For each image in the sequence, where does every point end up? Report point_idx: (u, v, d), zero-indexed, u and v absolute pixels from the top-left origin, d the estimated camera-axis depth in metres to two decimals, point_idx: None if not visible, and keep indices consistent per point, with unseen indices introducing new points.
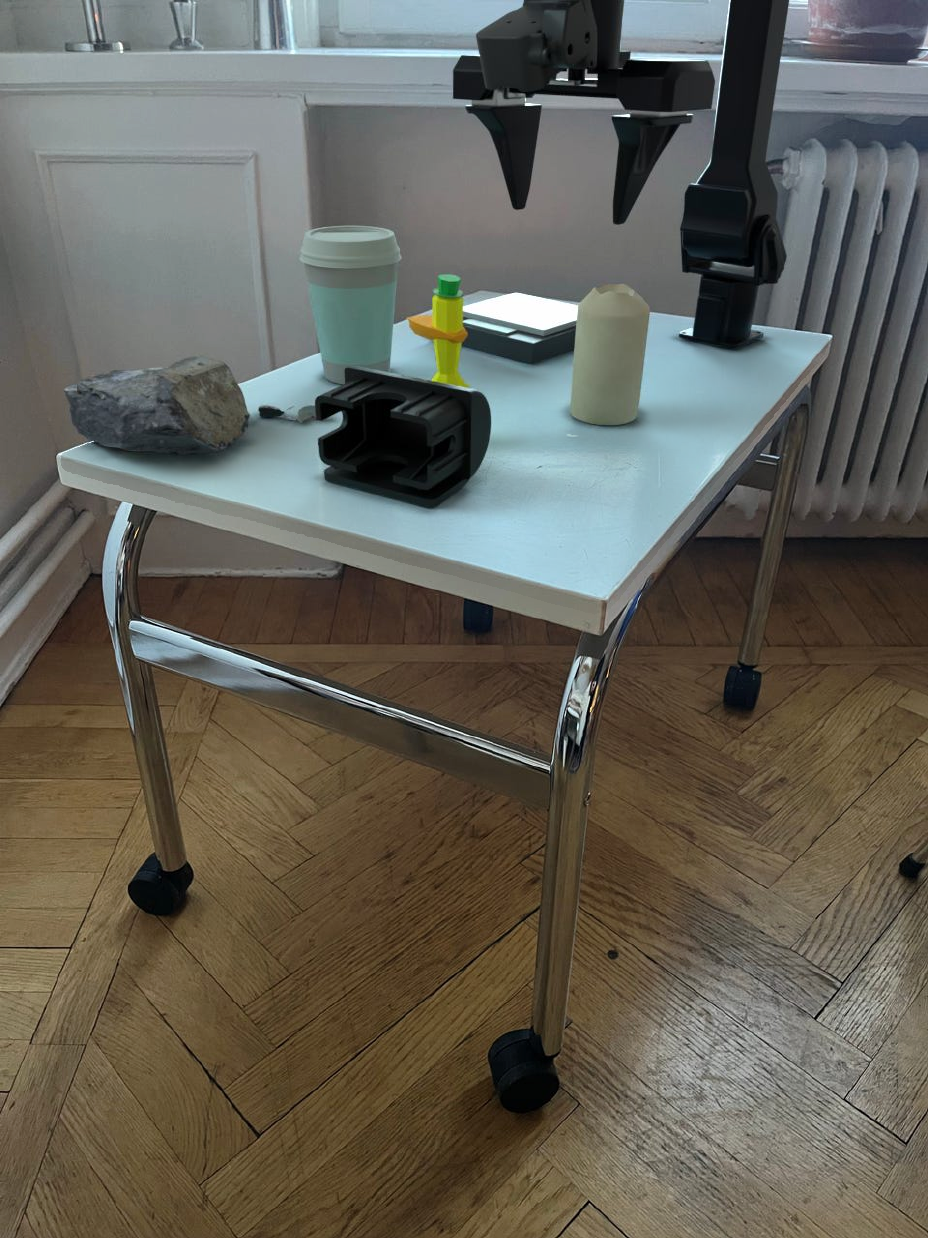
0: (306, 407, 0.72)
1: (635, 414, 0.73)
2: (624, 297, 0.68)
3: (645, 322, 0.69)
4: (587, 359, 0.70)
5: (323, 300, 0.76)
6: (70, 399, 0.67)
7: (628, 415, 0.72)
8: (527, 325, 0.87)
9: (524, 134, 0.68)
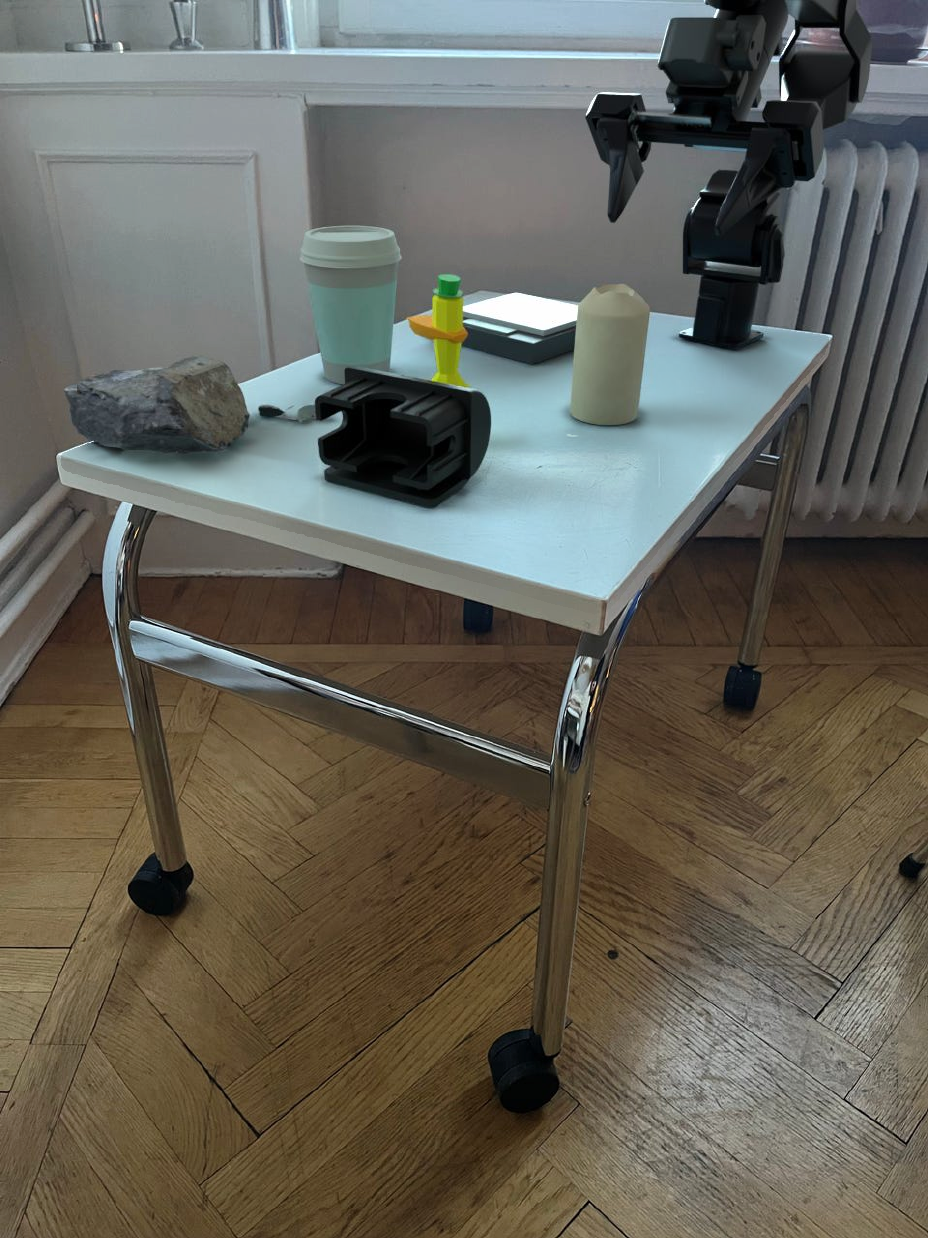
0: (306, 406, 0.72)
1: (635, 414, 0.73)
2: (624, 297, 0.68)
3: (645, 322, 0.69)
4: (587, 359, 0.70)
5: (323, 300, 0.76)
6: (70, 399, 0.67)
7: (628, 415, 0.72)
8: (527, 325, 0.87)
9: (632, 171, 0.76)
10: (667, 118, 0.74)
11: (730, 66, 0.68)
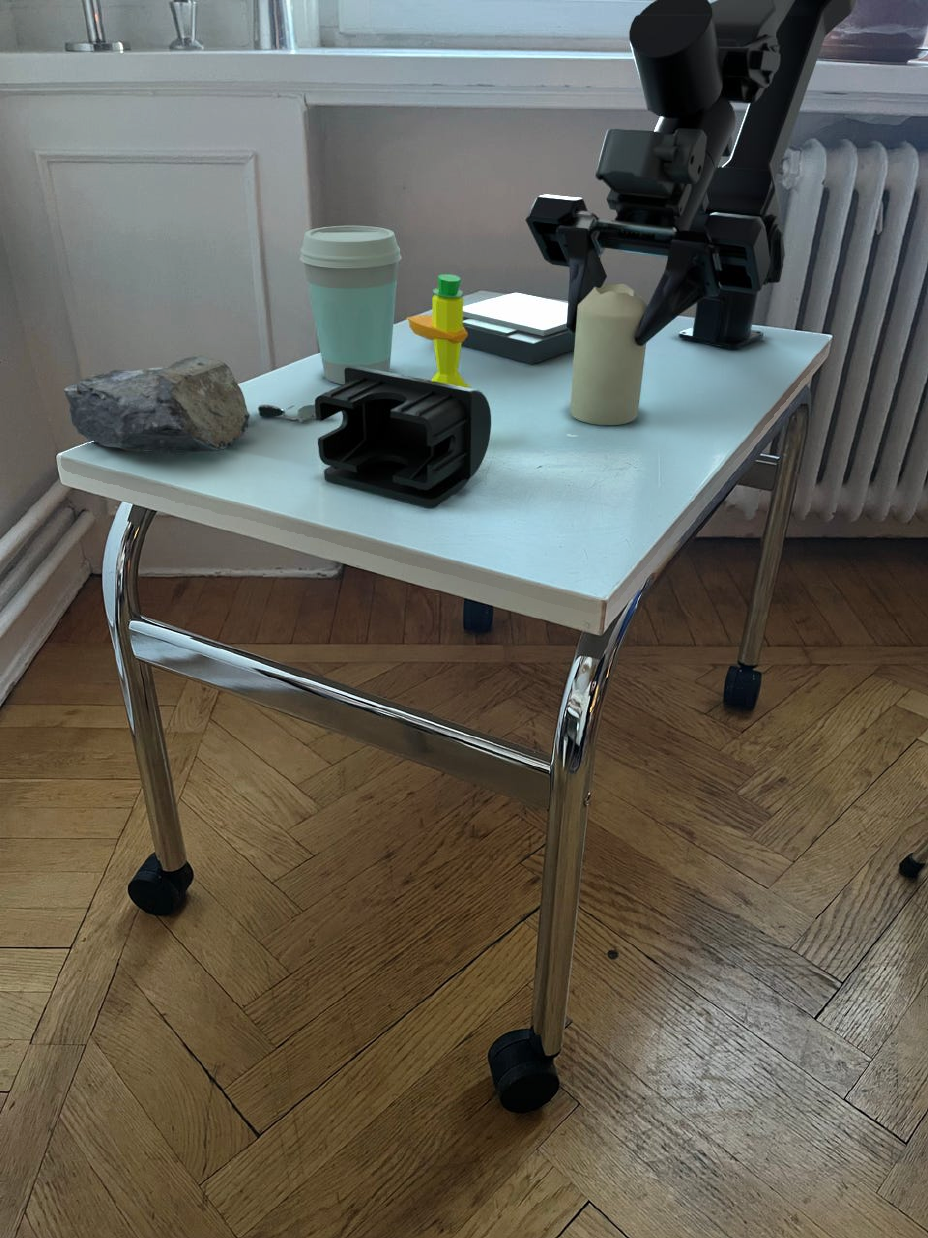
0: (306, 406, 0.73)
1: (635, 414, 0.73)
2: (624, 297, 0.68)
3: None
4: (587, 359, 0.70)
5: (323, 300, 0.76)
6: (70, 399, 0.67)
7: (628, 415, 0.72)
8: (527, 325, 0.87)
9: (593, 279, 0.73)
10: (629, 227, 0.70)
11: (670, 179, 0.65)
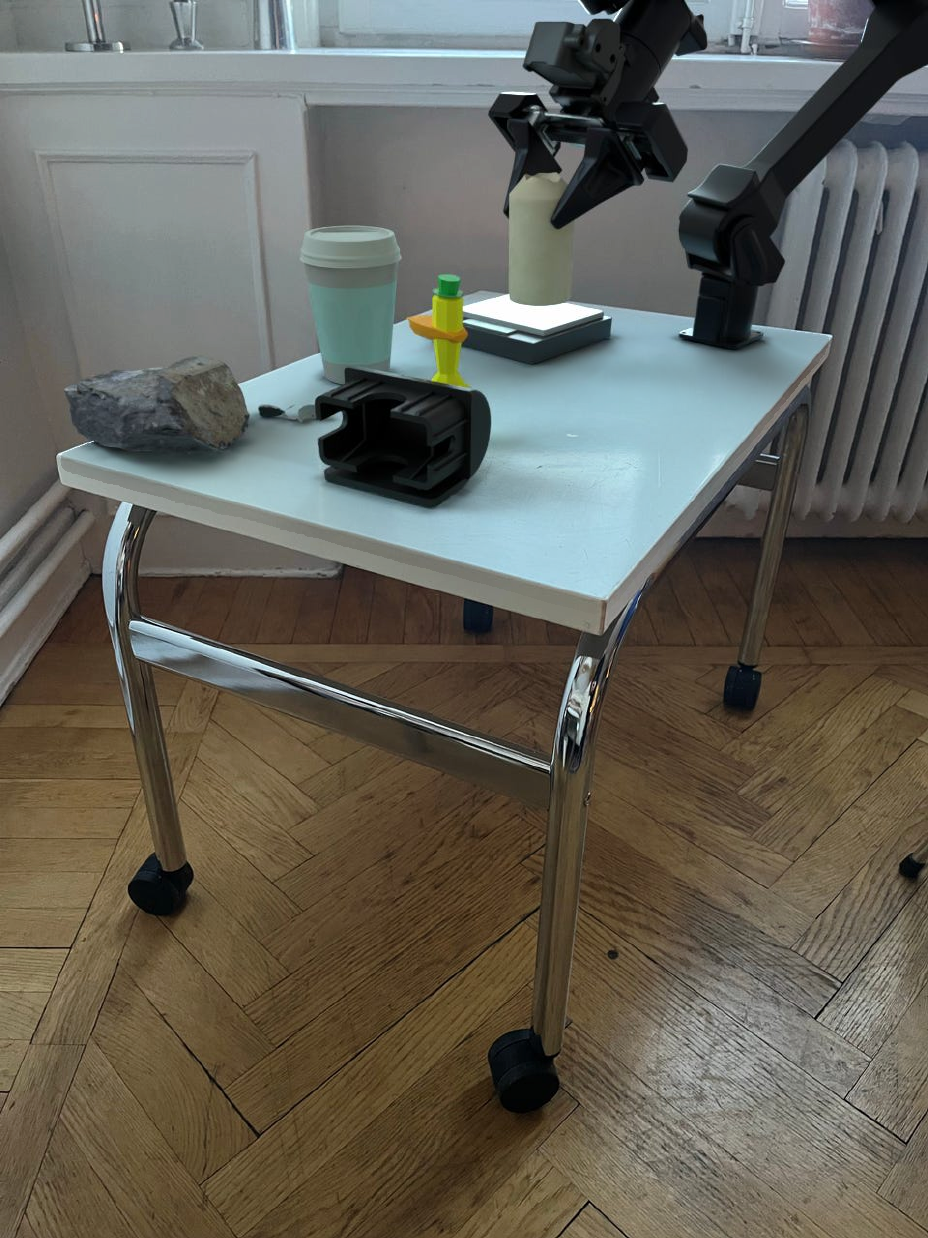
0: (306, 406, 0.73)
1: (562, 298, 0.79)
2: (544, 182, 0.74)
3: None
4: (513, 241, 0.77)
5: (323, 300, 0.76)
6: (70, 399, 0.67)
7: (553, 298, 0.78)
8: (527, 325, 0.87)
9: (539, 170, 0.79)
10: (568, 119, 0.76)
11: (587, 68, 0.70)
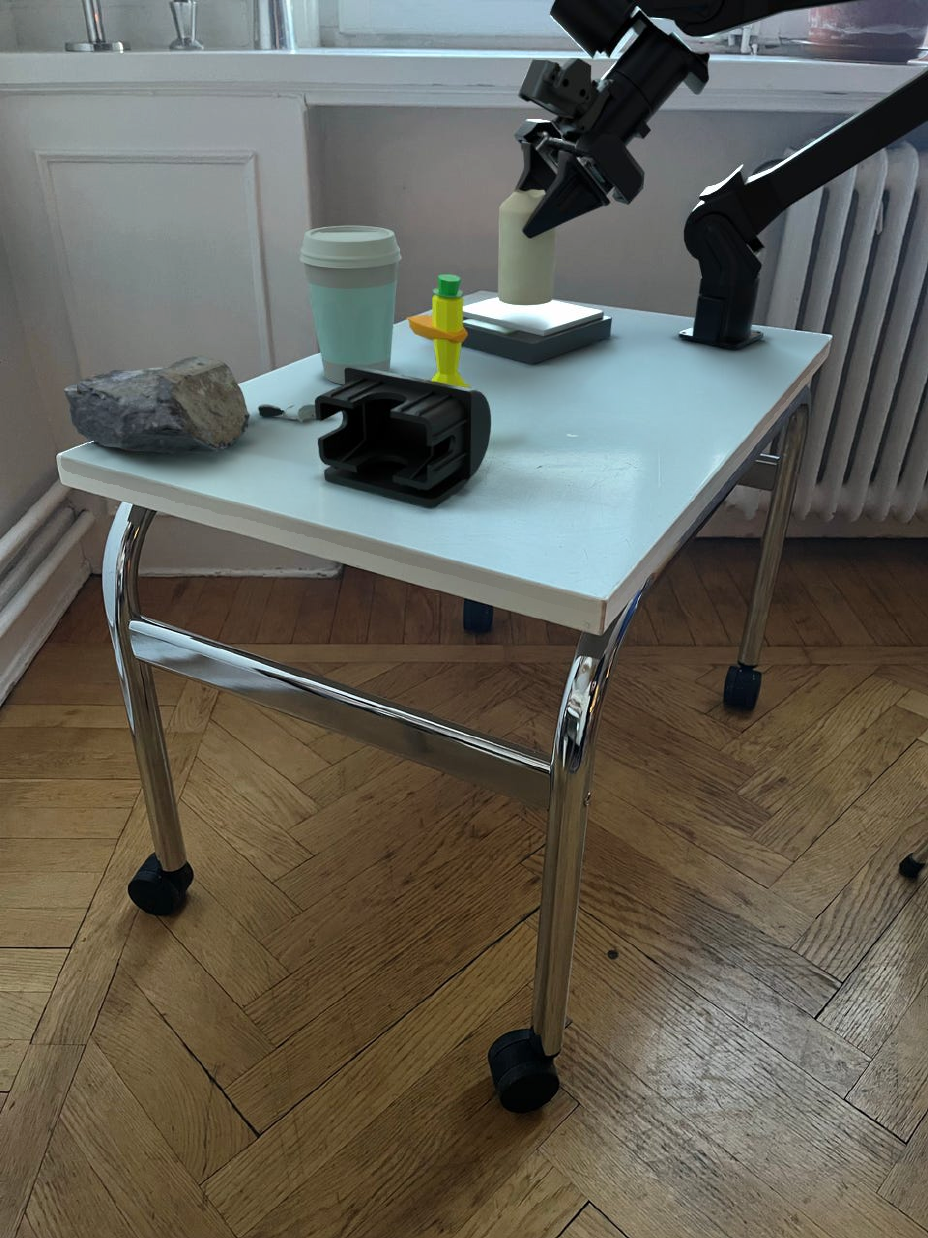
0: (306, 406, 0.73)
1: (537, 300, 0.89)
2: (523, 197, 0.85)
3: None
4: None
5: (323, 300, 0.76)
6: (70, 399, 0.67)
7: (526, 299, 0.89)
8: (527, 325, 0.87)
9: (542, 187, 0.89)
10: (562, 144, 0.86)
11: (563, 100, 0.80)
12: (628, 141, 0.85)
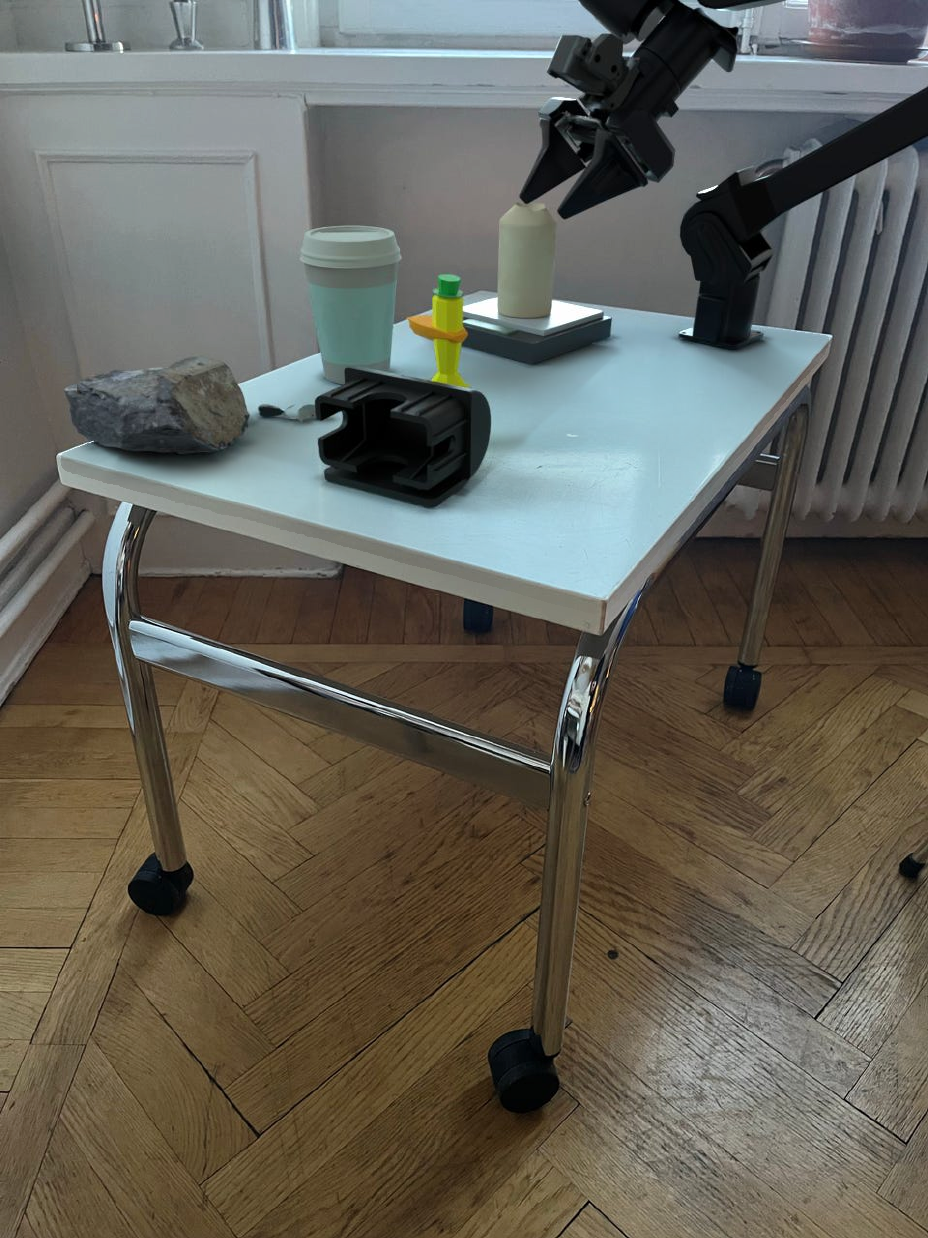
0: (306, 406, 0.73)
1: (535, 313, 0.89)
2: (523, 210, 0.85)
3: (538, 233, 0.85)
4: (498, 259, 0.89)
5: (323, 300, 0.76)
6: (70, 399, 0.67)
7: (525, 311, 0.89)
8: (527, 325, 0.87)
9: (560, 164, 0.90)
10: (582, 120, 0.87)
11: (594, 76, 0.80)
12: (656, 119, 0.84)
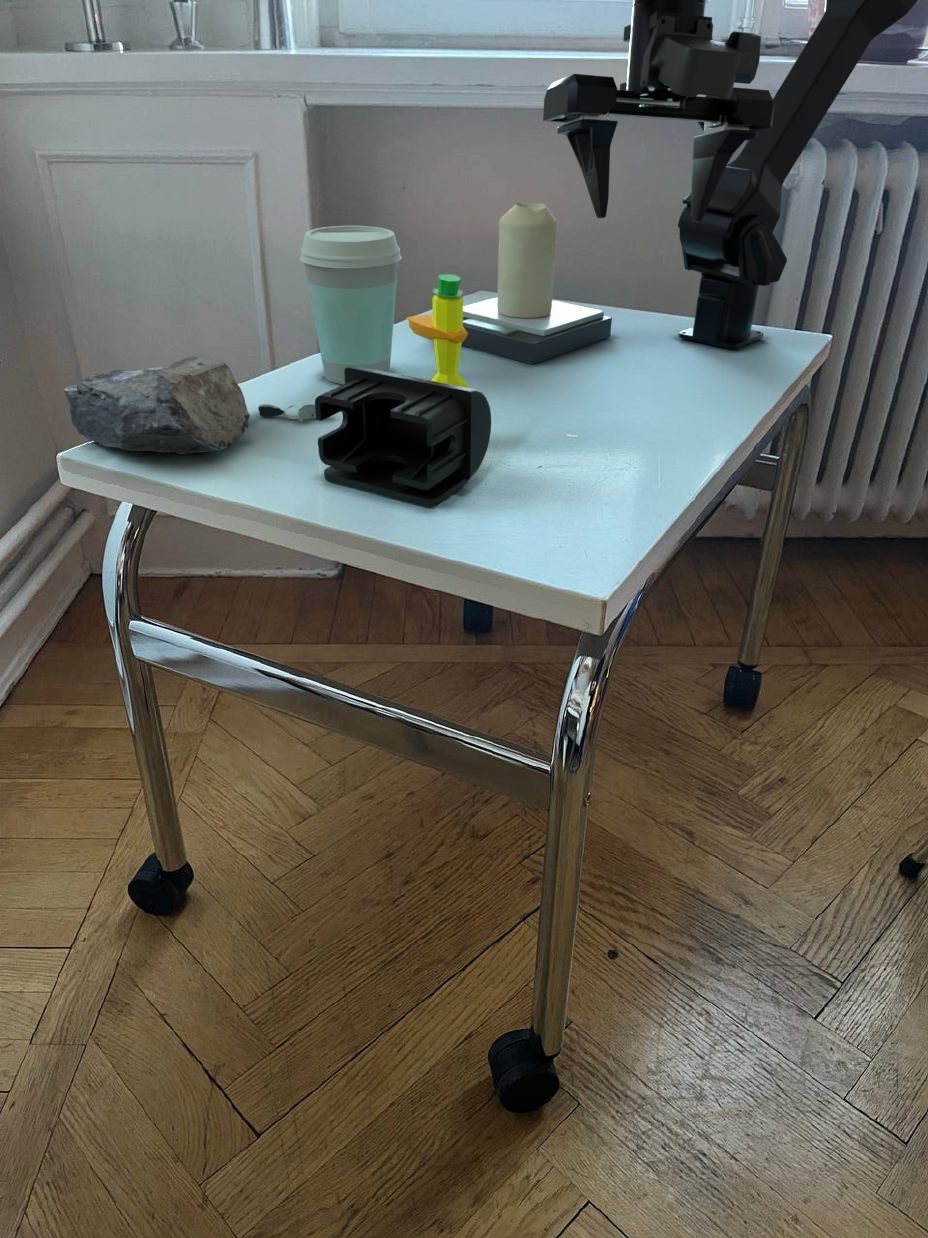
0: (306, 406, 0.73)
1: (535, 313, 0.89)
2: (523, 210, 0.85)
3: (538, 233, 0.85)
4: (498, 259, 0.89)
5: (323, 300, 0.76)
6: (70, 399, 0.67)
7: (525, 311, 0.89)
8: (527, 325, 0.87)
9: None
10: (638, 103, 0.74)
11: None
12: None
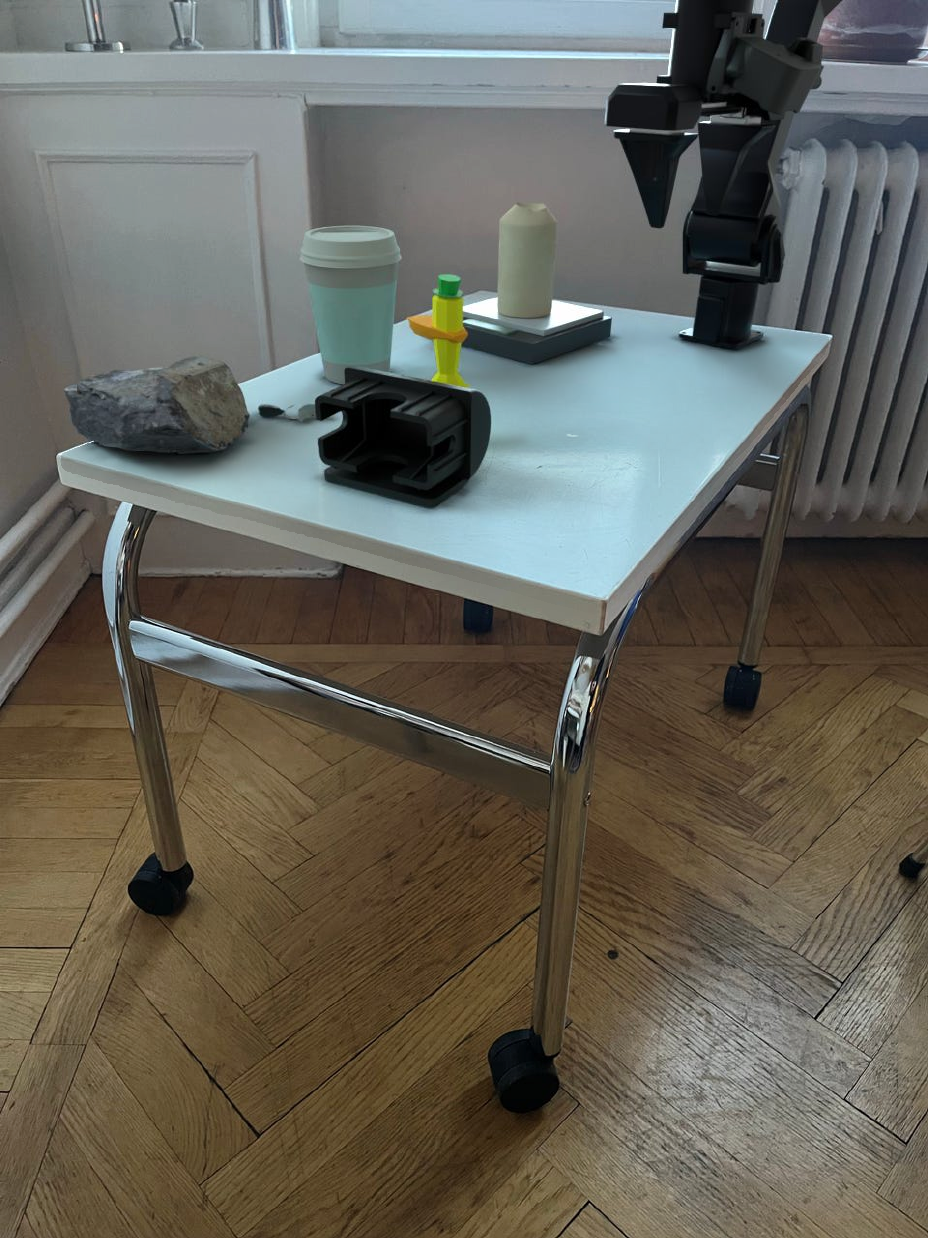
0: (306, 406, 0.73)
1: (535, 313, 0.89)
2: (523, 210, 0.85)
3: (538, 233, 0.85)
4: (498, 259, 0.89)
5: (323, 300, 0.76)
6: (70, 399, 0.67)
7: (525, 311, 0.89)
8: (527, 325, 0.87)
9: None
10: None
11: None
12: None
